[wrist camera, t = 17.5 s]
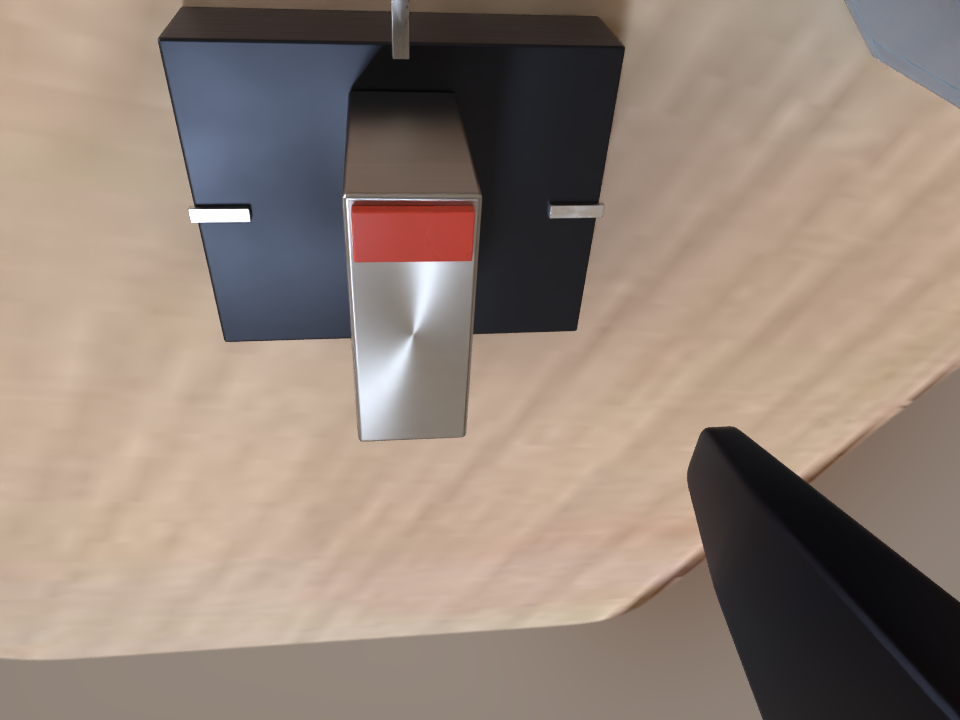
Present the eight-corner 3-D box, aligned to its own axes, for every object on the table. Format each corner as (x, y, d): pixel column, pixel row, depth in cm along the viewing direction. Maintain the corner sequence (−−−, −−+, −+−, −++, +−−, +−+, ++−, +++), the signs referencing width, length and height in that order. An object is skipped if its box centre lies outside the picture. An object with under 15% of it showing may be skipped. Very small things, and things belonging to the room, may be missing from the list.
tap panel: (239, 320, 23) (226, 376, 20) (164, -48, 16) (135, -20, 14) (558, 312, 24) (576, 363, 22) (610, -34, 17) (642, -6, 15)
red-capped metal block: (447, 308, 20) (467, 446, 16) (360, 310, 20) (357, 451, 16) (456, 91, 16) (485, 201, 12) (347, 89, 16) (340, 201, 12)
